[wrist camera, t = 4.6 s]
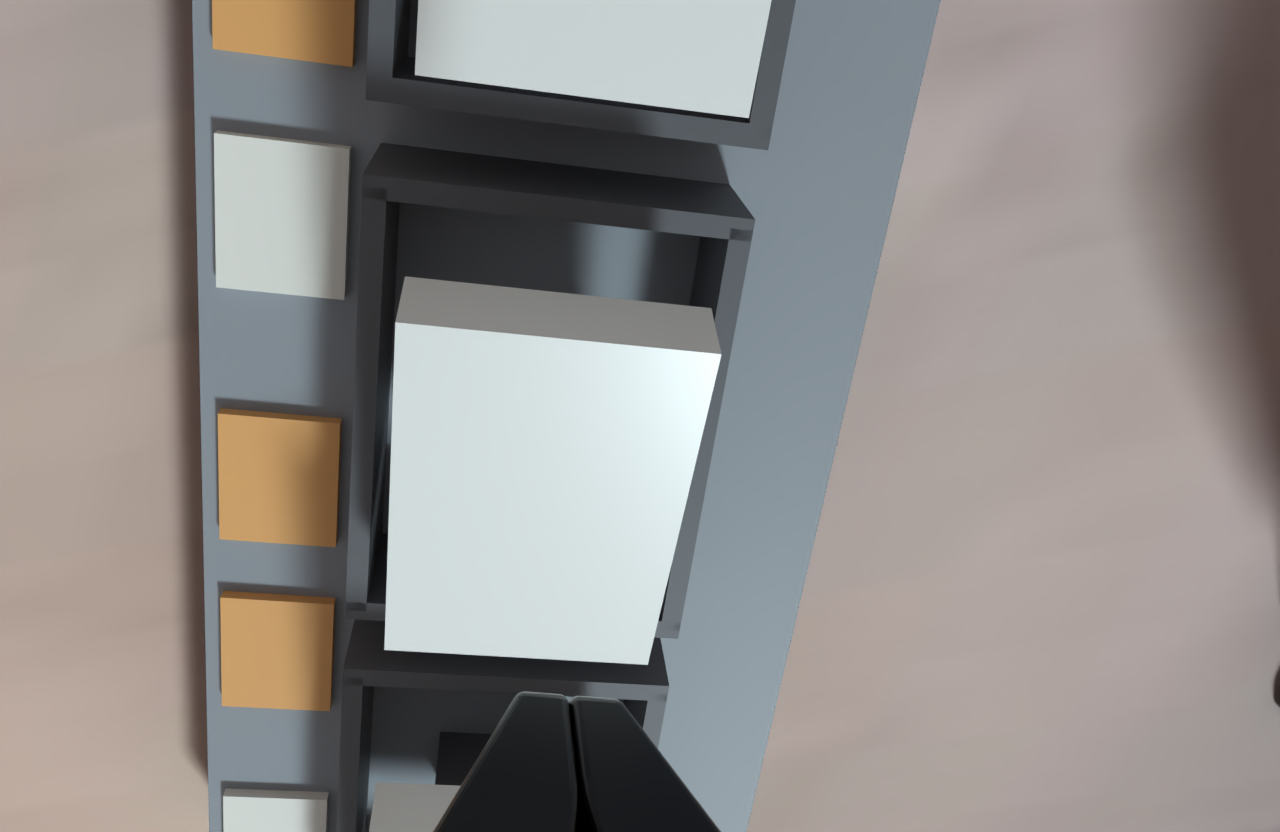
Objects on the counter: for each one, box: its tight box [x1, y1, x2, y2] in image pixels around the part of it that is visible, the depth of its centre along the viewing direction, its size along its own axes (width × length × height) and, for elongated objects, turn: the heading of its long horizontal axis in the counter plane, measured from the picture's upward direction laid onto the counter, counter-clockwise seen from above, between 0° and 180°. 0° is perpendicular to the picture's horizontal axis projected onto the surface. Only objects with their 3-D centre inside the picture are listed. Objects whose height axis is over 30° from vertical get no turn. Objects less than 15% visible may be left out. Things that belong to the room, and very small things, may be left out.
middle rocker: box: [384, 276, 721, 665], centre depth 14 cm, size 4×5×1 cm
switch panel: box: [192, 0, 940, 832], centre depth 17 cm, size 10×23×4 cm, turn 172°
